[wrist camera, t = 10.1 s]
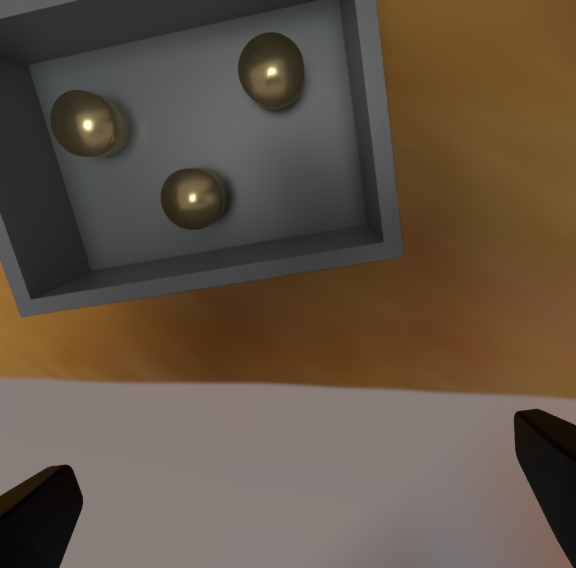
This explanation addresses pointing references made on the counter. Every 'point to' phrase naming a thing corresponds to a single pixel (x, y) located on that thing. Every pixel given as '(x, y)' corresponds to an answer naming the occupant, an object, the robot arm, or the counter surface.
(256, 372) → the counter surface
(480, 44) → the counter surface
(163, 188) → the brass parts
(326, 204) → the tub
